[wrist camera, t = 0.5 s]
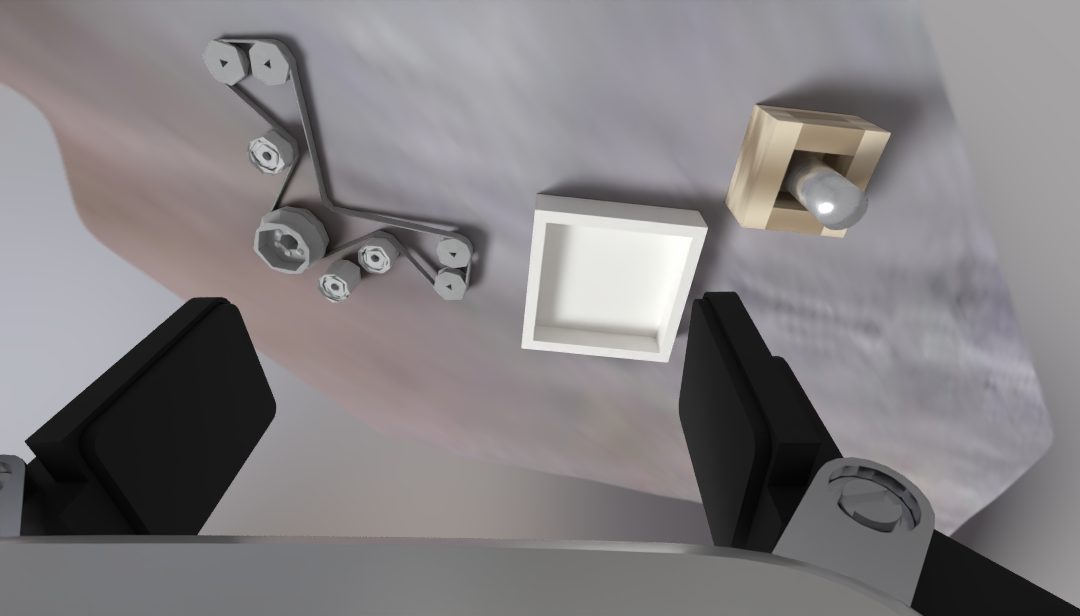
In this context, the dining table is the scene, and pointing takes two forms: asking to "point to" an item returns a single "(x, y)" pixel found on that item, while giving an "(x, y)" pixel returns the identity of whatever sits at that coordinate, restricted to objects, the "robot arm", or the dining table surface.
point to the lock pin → (824, 191)
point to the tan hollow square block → (769, 151)
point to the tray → (609, 277)
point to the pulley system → (300, 224)
